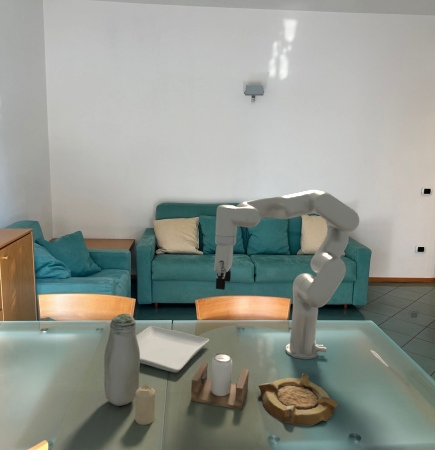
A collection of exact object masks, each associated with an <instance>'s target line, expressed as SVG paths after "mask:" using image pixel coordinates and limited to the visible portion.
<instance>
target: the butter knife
mask: <svg viewBox="0 0 435 450" xmlns="http://www.w3.org/2000/svg"><path fill="white" fill-rule="evenodd" d="M369 351H370V353H371V354H372V355H373V356H375V358H376V359H378V360H379V361H380V362H381V363H382V364H384V366H386V367H390V366H389V365H388V364H387V362H386V361H384V359H383V358H382V357H381V356H380V355H379V354H378V353H377V352H376V351H375V350H372V349H370V350H369Z"/></svg>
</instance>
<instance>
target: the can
mask: <svg viewBox="0 0 435 450" xmlns="http://www.w3.org/2000/svg"><path fill="white" fill-rule="evenodd" d="M210 374H211V376H210V380H211V392H212V393H213V394H214V395H216V396H220V397H223V396H227V395H228V394H229V393H230V391H231V383H232V376H233V375H232V374H233V360H232V356H231V355H230V354H228V353H226V352H217V353H214V355H213V358H212V360H211V373H210Z"/></svg>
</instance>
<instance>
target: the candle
mask: <svg viewBox="0 0 435 450" xmlns="http://www.w3.org/2000/svg"><path fill="white" fill-rule="evenodd" d="M134 399H135V400H134V401H135V402H134V403H135V405H134V407H135V409H134V410H135V411H134V419H135V422H136V423H137V424H138V425H141V426H142V425H143V426H145V425H150V424H152V423H153V422H154V420H155V415H156V413H155V409H156V406H155V404H156V390H155V389H154V388H152V386H149V385H148V384H144V385H142V386H141V387H140V386H139V388H138V390H137V391H136V396H135V398H134Z"/></svg>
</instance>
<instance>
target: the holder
mask: <svg viewBox="0 0 435 450" xmlns="http://www.w3.org/2000/svg"><path fill="white" fill-rule="evenodd" d="M208 364H209V363H208V362H204V361H201V363H200V364H199V366H198V368H197V369H196V372H195V373H194V376H192V378H191V386H190V388H191V389H190V390H191V393H190V401H192V402H197V403H202V404H209V405H212V406H213V405H214V406H218V407H224V408H229V409H230V408H231V409H234V410H242V408H243V406H244V402H245V399H246V396H247V393H248V389H249V375H250V369H247V368H242V370H241V372H240V375H239V378H238V379H237V381H236V383H232V382H231V391H230V393H229V394H228V395H227V396H223V397H220V396H216V395H214V394H213V393H212V392H211V379H209V378H208Z"/></svg>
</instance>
